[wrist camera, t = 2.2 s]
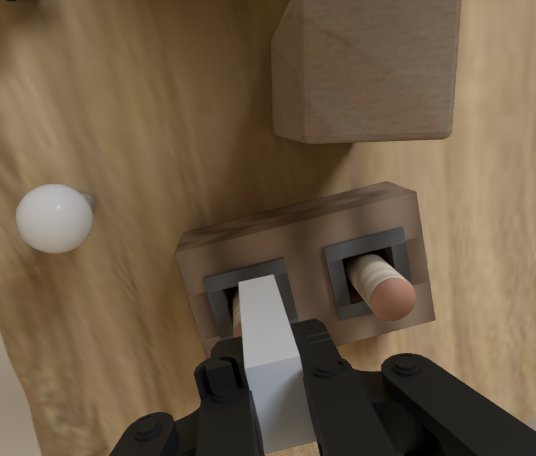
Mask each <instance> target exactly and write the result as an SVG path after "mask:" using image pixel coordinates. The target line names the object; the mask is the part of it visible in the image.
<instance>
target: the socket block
mask: <svg viewBox="0 0 536 456" xmlns="http://www.w3.org/2000/svg"><path fill="white" fill-rule="evenodd" d="M370 251H374V252H375V253H376V254H378V255H379V256H380V257H381V258H382V259H383V260H384V261H386V262H387V263H388V264H389V265H390V266H391V267H392V268H393V269H395V270H396V271H397V272H398V273H399V274H400V275H401V276H403V277H404V278H405V279H406V280H407V281H408V282H409V283H410V284H411V285H412V286H413V288H414V290H415V294H416V302H415V305H414V307H413V309H412V311H411V312H410V313H409V314H408V315H407V316H406V317H404V318H402V319H400V320H397V321H386V320H383V319H381V318H379V317H377V316H376V315H375V314H374V312H373V311H372V310H371V309H370V307H369V306H368V305H367V303H366V302H365V301H364V299H363V298H362V297H361V295H360V294H359V293H358V291H357V290H356V289H355V288H354V286H353V285H352V284H351V282H350V281H349V280H348V278H347V277H346V275H345V272H344V267H343V262H342V259H343V258H347V257H351V256H354V255H358V254H362V253H366V252H370ZM174 254H175V258H176V261H177V264H178V267H179V270H180V274H181V277H182V280H183V283H184V286H185V290H186V293H187V296H188V299H189V302H190V306H191V309H192V312H193V315H194V318H195V322H196V325H197V328H198V331H199V334H200V338H201V341H202V344H203V347H204V350H205V354H206V357H207V359H209V358H210V355H211V350H212V348H213V347H214V345H215V344H216V343H217V342H218V341H222V340H226V339H231V338H234V336H233V293H232V290H231V287H234V286H238V285H239V284H238V282H241V281H246V280H250V279H255V278H259V277H264V276H268V275H273V274H274V278H275V281H276V284H277V287H278V290H279V293H280V296H281V299H282V302H283V305H284V309H285V312H286V315H287V318H288V321H289V324H292V323H296V322H300V321H305V320H309V319H314V318H316V319H317V320H319V321H321V322H323V323H324V324H325V326H326V328H327V330H328V332H329V334H330V336H331V339H332V340H333V342H334V344H335V346H339V345H343V344H347V343H351V342H354V341H358V340H362V339H366V338H370V337H373V336H377V335H381V334H385V333H389V332H392V331H396V330H400V329H404V328H408V327H411V326H415V325H419V324H423V323H427V322H430V321H434V320H435V314H434V307H433V301H432V294H431V287H430V281H429V274H428V267H427V260H426V254H425V247H424V240H423V234H422V227H421V220H420V214H419V207H418V200H417V193H416V192H415V191H412V190H409V189H406V188H404V187H401V186H398V185H395V184H393V183H390V182H387V181H386V182H382V183H378V184H374V185H370V186H366V187H362V188H358V189H354V190H350V191H346V192H342V193H338V194H335V195H331V196H327V197H323V198H319V199H315V200H311V201H307V202H303V203H299V204H295V205H291V206H287V207H283V208H279V209H275V210H271V211H267V212H264V213H260V214H256V215H252V216H248V217H244V218H240V219H236V220H232V221H228V222H224V223H220V224H216V225H212V226H208V227H204V228H200V229H196V230H193V231H189V232H185V233H183V235H182V237H181V239H180V242H179V244H178V246H177V249H176V251H175V253H174Z"/></svg>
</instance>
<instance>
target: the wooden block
mask: <svg viewBox="0 0 536 456" xmlns="http://www.w3.org/2000/svg"><path fill="white" fill-rule="evenodd" d="M461 1H462V0H290V1H289V4H288V6H287V8H286V10H285V12H284V14H283V16H282V18H281V20H280V23H279V25H278V27H277V29H276V31H275V33H274V35H273V37H272V40H271V77H272V115H273V133H274V135H275V136H278V137H282V138H286V139H291V140H295V141H299V142H303V143H307V144H324V143H353V142H381V141H410V140H439V139H445V138H447V137H449V136H450V135H451V132H452V123H453V109H454V96H455V82H456V69H457V55H458V41H459V28H460V14H461Z"/></svg>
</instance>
